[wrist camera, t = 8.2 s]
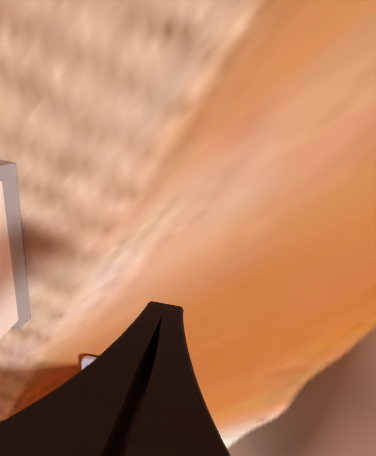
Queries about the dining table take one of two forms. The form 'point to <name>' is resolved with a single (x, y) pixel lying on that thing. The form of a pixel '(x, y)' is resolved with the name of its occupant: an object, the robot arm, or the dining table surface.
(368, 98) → the dining table surface
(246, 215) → the dining table surface
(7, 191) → the plate
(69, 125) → the dining table surface
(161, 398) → the robot arm
